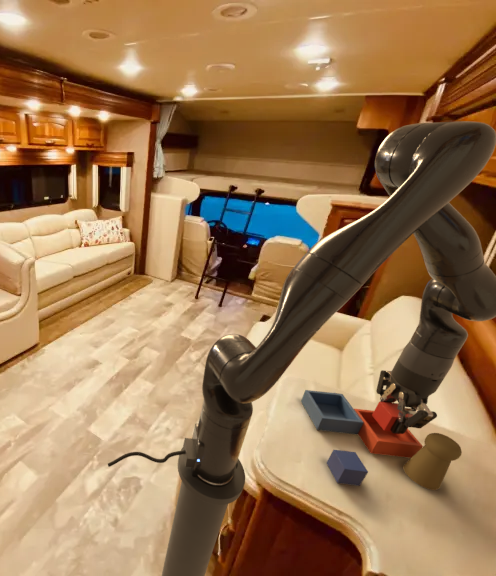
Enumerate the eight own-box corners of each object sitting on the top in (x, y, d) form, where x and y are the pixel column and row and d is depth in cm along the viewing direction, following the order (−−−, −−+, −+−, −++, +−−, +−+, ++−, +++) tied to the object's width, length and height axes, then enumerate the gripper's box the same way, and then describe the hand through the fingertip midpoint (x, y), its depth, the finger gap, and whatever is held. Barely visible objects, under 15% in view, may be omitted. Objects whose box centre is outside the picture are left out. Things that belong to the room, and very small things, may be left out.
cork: (396, 460, 71) (419, 425, 66) (427, 465, 70) (453, 431, 65) (414, 486, 66) (440, 450, 61) (447, 493, 65) (476, 457, 60)
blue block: (336, 483, 66) (344, 469, 64) (326, 463, 70) (333, 449, 68) (359, 486, 65) (368, 472, 63) (347, 465, 69) (355, 451, 67)
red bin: (370, 453, 72) (377, 440, 71) (347, 420, 81) (353, 408, 79) (414, 458, 72) (423, 446, 70) (387, 424, 80) (394, 412, 78)
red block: (383, 430, 72) (392, 416, 70) (371, 415, 76) (379, 401, 74) (405, 433, 72) (414, 418, 70) (391, 417, 76) (399, 403, 74)
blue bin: (316, 430, 78) (322, 418, 76) (300, 401, 86) (305, 389, 84) (357, 434, 77) (363, 422, 75) (337, 405, 85) (342, 393, 84)
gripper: (380, 343, 73) (353, 398, 81) (429, 387, 61) (391, 448, 68) (415, 346, 73) (385, 402, 80) (472, 391, 60) (429, 452, 67)
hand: (388, 422), depth 74 cm, fingers closed on red block, 4 cm apart
